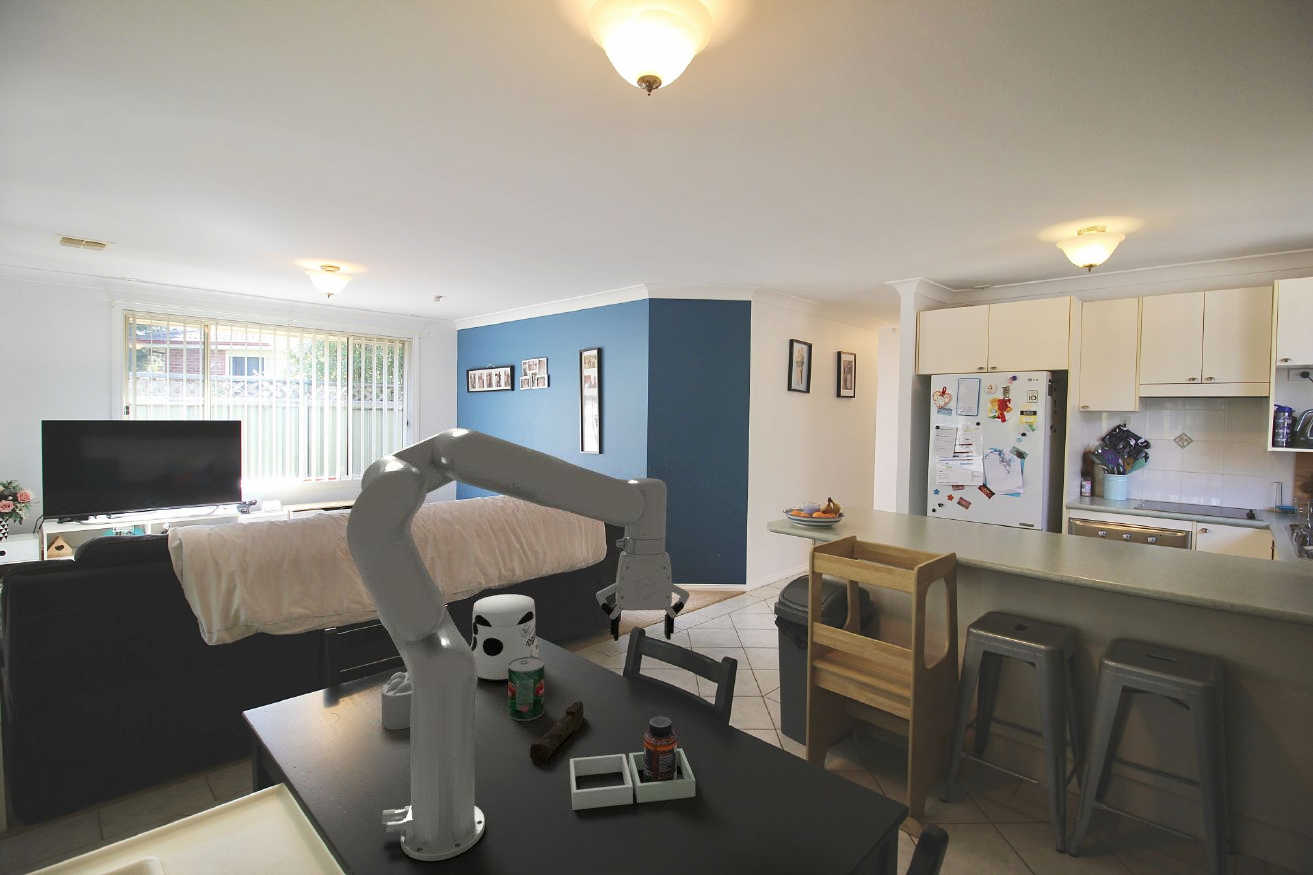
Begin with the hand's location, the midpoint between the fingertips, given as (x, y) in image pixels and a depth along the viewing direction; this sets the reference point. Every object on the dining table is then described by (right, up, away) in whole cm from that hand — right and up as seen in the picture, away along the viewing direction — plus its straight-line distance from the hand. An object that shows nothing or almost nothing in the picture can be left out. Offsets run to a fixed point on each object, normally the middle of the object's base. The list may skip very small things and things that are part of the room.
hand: (641, 637), depth 114 cm
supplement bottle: (+3, -26, -2) cm, 26 cm away
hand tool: (-17, -25, +12) cm, 33 cm away
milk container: (-36, -23, +44) cm, 61 cm away
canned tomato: (-26, -24, +23) cm, 43 cm away
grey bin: (-7, -25, -4) cm, 27 cm away
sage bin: (+4, -25, -2) cm, 26 cm away
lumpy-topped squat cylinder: (-51, -24, +22) cm, 61 cm away
